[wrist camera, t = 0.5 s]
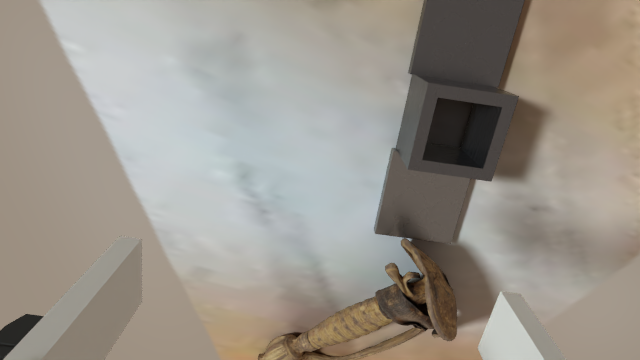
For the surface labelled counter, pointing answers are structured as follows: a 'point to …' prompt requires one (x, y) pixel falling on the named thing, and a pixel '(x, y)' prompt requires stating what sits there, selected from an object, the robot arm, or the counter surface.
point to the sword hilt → (381, 315)
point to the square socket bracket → (425, 88)
